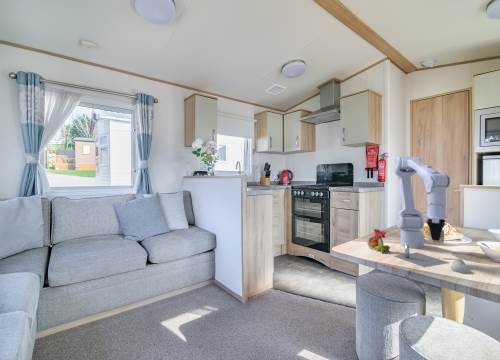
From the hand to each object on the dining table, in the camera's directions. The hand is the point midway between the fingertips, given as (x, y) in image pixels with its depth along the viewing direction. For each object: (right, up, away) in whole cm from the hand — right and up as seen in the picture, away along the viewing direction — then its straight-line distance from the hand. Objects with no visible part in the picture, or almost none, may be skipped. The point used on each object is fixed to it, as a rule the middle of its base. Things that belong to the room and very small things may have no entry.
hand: (435, 238), depth 95 cm
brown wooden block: (0, -1, 0) cm, 1 cm away
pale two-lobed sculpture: (+2, -10, -9) cm, 14 cm away
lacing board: (-4, -10, +2) cm, 11 cm away
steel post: (-9, -9, +4) cm, 13 cm away
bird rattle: (-16, -10, +14) cm, 23 cm away
